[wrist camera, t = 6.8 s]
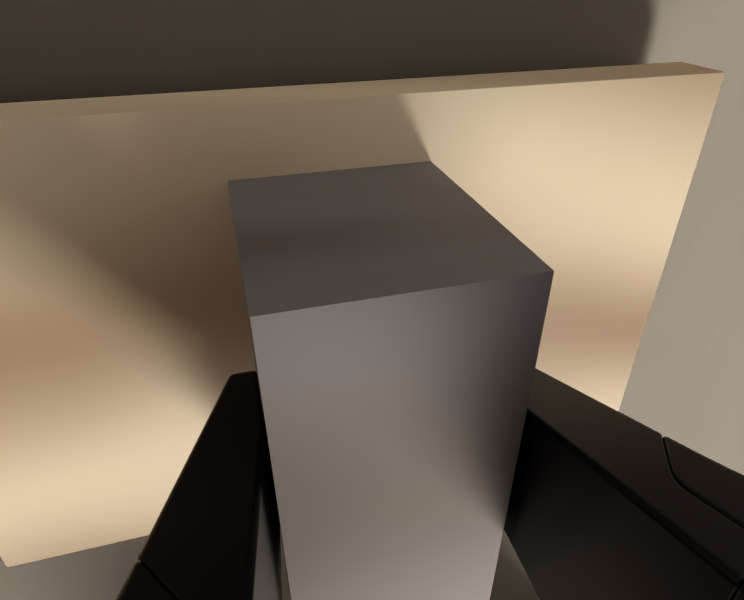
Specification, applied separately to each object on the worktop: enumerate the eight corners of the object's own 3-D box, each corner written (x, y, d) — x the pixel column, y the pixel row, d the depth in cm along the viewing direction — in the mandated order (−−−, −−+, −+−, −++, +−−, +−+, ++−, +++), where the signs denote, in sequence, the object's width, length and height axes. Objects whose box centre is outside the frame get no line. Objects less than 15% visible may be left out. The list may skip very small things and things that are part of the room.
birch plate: (588, 401, 14) (728, 561, 10) (20, 522, 11) (-62, 801, 8) (680, 61, 10) (974, 130, 6) (-200, 115, 7) (-642, 305, 3)
